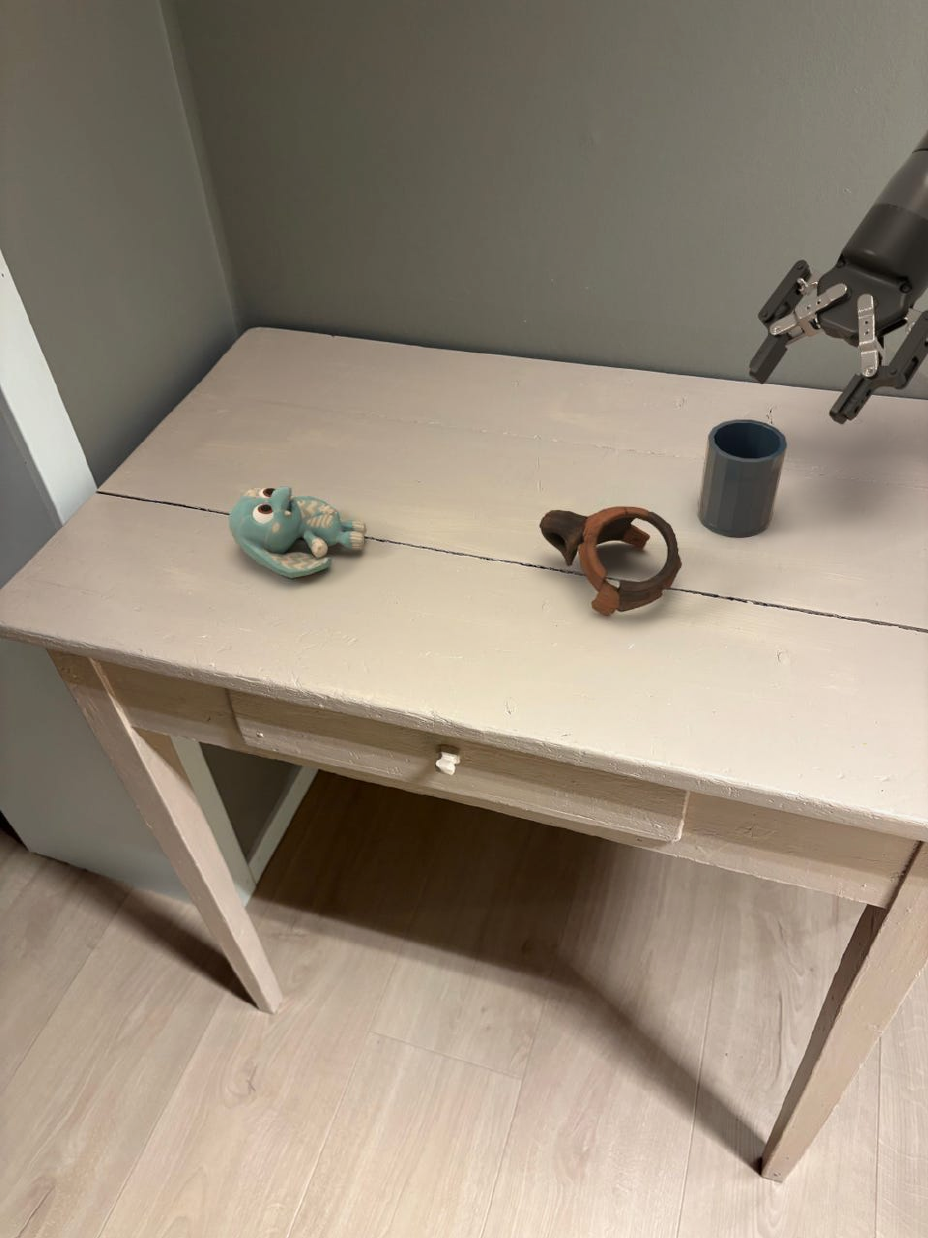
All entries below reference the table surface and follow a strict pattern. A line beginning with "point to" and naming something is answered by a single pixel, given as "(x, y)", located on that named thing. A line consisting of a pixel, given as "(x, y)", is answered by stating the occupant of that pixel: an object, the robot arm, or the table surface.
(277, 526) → the stuffed animal
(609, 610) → the brown broken clay pot
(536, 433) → the table surface
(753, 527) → the cup
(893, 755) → the table surface
